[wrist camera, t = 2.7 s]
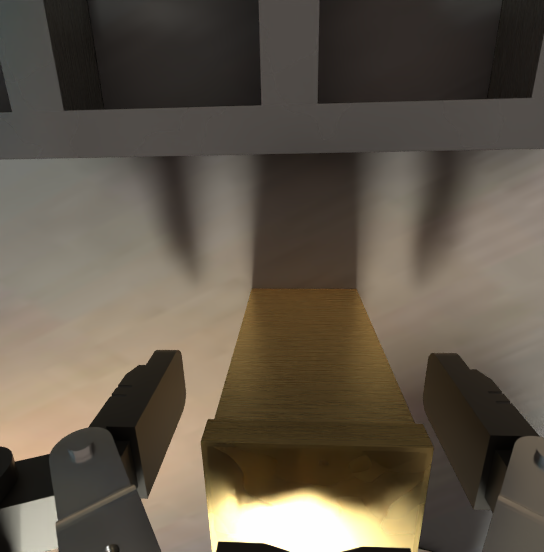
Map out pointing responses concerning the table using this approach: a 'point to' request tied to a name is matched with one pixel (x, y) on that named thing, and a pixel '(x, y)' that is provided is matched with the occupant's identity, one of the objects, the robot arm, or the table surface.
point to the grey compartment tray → (274, 95)
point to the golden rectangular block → (313, 432)
